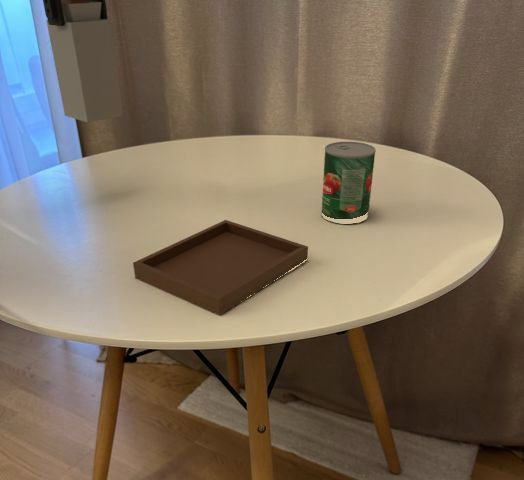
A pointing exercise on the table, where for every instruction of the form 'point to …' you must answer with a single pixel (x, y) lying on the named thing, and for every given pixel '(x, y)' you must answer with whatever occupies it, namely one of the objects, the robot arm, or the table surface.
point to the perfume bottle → (86, 62)
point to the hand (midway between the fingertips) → (78, 22)
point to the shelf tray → (220, 265)
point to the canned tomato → (347, 179)
